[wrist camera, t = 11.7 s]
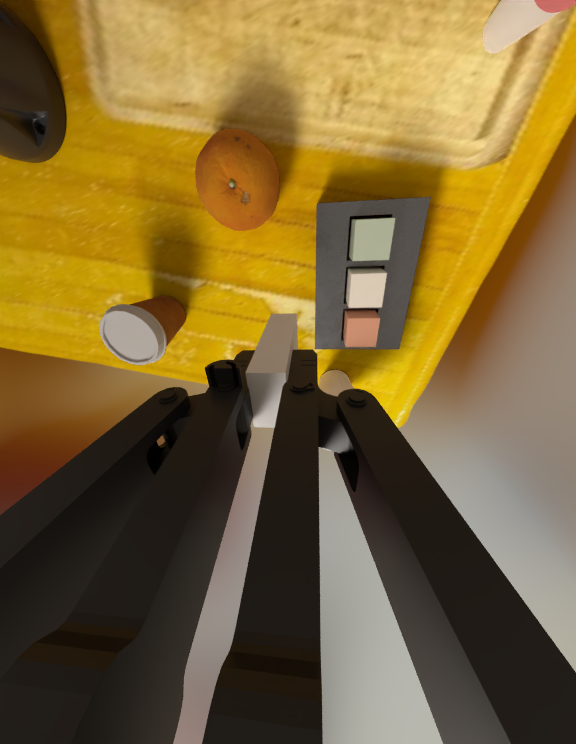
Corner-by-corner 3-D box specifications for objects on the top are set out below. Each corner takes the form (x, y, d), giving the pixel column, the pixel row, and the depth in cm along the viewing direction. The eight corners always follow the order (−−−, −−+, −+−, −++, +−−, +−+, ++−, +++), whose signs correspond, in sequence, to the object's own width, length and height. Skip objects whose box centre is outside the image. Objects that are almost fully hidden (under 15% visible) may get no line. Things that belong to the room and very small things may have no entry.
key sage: (350, 219, 35) (355, 219, 31) (385, 217, 34) (395, 218, 30) (348, 255, 37) (352, 261, 33) (380, 254, 37) (389, 259, 33)
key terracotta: (344, 307, 41) (347, 318, 37) (373, 307, 41) (380, 318, 37) (342, 334, 44) (345, 346, 40) (369, 333, 43) (375, 346, 39)
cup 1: (358, 355, 48) (372, 399, 37) (362, 399, 53) (375, 449, 42) (304, 363, 50) (301, 407, 39) (313, 404, 55) (312, 454, 44)
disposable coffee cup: (167, 275, 43) (122, 294, 33) (205, 321, 47) (174, 350, 37) (133, 304, 47) (82, 328, 37) (170, 344, 51) (134, 377, 40)
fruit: (248, 245, 40) (234, 251, 33) (195, 185, 36) (167, 178, 30) (298, 190, 36) (294, 184, 29) (243, 115, 32) (223, 88, 25)
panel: (316, 204, 36) (316, 203, 33) (419, 198, 35) (430, 196, 31) (315, 339, 47) (315, 349, 44) (393, 339, 46) (399, 349, 42)
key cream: (347, 267, 38) (351, 274, 34) (379, 266, 38) (387, 273, 33) (345, 298, 40) (348, 307, 36) (374, 297, 40) (381, 307, 36)
